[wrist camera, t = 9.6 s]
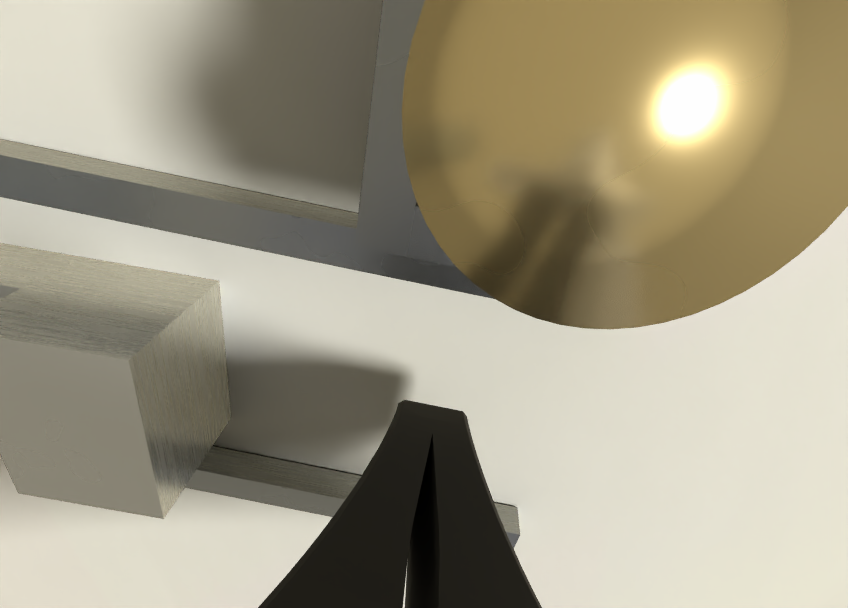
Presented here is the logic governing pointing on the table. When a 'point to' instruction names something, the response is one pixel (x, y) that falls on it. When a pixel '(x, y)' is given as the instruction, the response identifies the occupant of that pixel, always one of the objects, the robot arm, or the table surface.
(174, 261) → the table surface
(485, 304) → the table surface
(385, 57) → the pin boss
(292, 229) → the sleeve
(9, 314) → the grey notched block
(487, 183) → the brass knob
